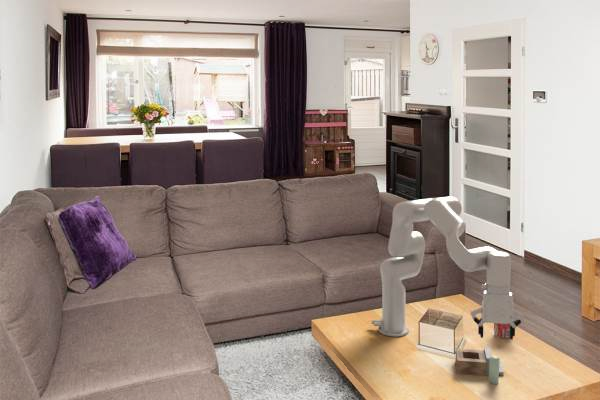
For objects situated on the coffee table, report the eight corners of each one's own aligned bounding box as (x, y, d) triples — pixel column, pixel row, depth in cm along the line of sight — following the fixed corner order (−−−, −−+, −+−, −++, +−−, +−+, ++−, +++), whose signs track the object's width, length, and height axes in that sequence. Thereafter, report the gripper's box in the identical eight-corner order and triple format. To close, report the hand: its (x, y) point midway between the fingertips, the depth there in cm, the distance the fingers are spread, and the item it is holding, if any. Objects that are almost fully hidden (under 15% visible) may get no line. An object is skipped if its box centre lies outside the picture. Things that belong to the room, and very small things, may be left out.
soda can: (498, 331, 251) (500, 303, 249) (515, 335, 246) (516, 307, 244) (490, 336, 246) (491, 308, 244) (506, 341, 241) (508, 312, 239)
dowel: (489, 383, 207) (490, 359, 205) (488, 379, 210) (489, 355, 208) (498, 384, 206) (500, 360, 204) (497, 380, 209) (499, 355, 207)
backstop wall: (485, 374, 214) (486, 358, 213) (483, 362, 222) (484, 347, 221) (503, 375, 212) (504, 359, 211) (500, 364, 221) (501, 348, 220)
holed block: (456, 373, 214) (457, 360, 213) (455, 361, 224) (455, 348, 223) (486, 375, 212) (486, 362, 212) (483, 363, 222) (484, 350, 221)
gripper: (472, 291, 200) (470, 340, 203) (527, 293, 196) (524, 343, 199) (470, 284, 207) (469, 331, 210) (523, 286, 204) (521, 334, 207)
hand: (496, 337), depth 205 cm, fingers open, 9 cm apart
